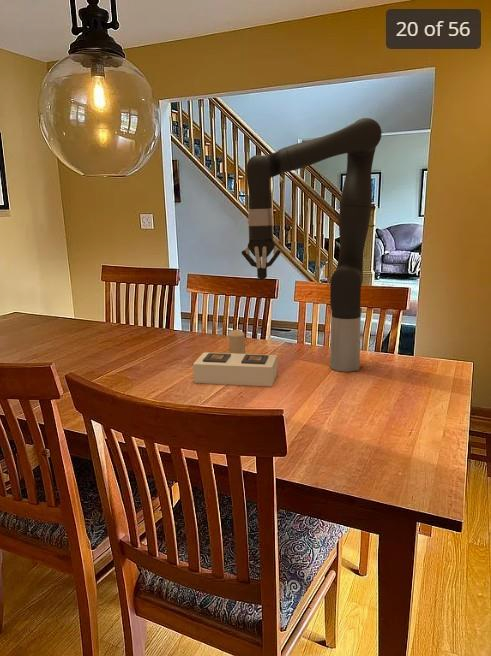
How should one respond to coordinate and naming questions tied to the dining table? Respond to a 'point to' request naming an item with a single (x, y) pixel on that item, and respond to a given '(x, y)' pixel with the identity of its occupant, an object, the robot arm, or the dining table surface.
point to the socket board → (235, 369)
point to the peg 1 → (217, 356)
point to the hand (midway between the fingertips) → (262, 279)
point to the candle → (237, 342)
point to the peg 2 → (255, 358)
